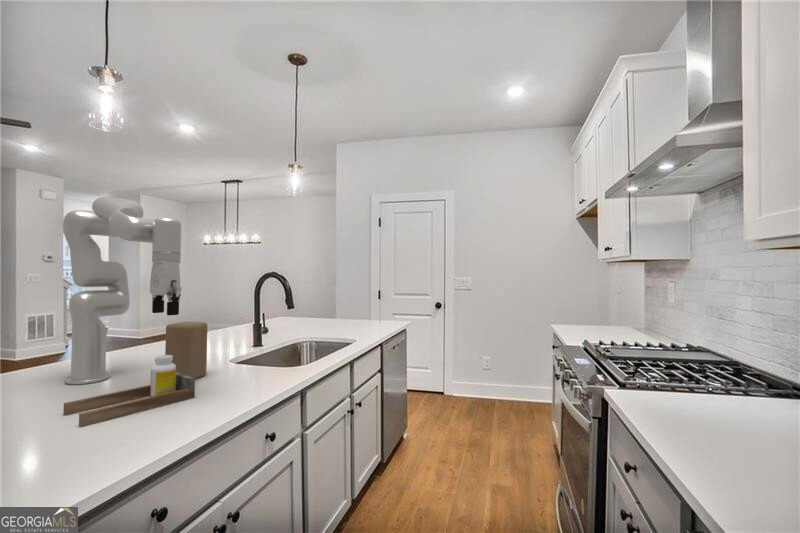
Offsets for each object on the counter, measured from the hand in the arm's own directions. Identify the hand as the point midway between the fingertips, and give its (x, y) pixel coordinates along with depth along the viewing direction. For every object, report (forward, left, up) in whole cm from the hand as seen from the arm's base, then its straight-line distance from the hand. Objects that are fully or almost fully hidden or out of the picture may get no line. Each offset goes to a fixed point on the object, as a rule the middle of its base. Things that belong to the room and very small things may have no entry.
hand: (165, 313), depth 117 cm
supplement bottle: (0, 0, -26) cm, 26 cm away
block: (-17, +15, -26) cm, 35 cm away
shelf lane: (0, -8, -26) cm, 27 cm away
